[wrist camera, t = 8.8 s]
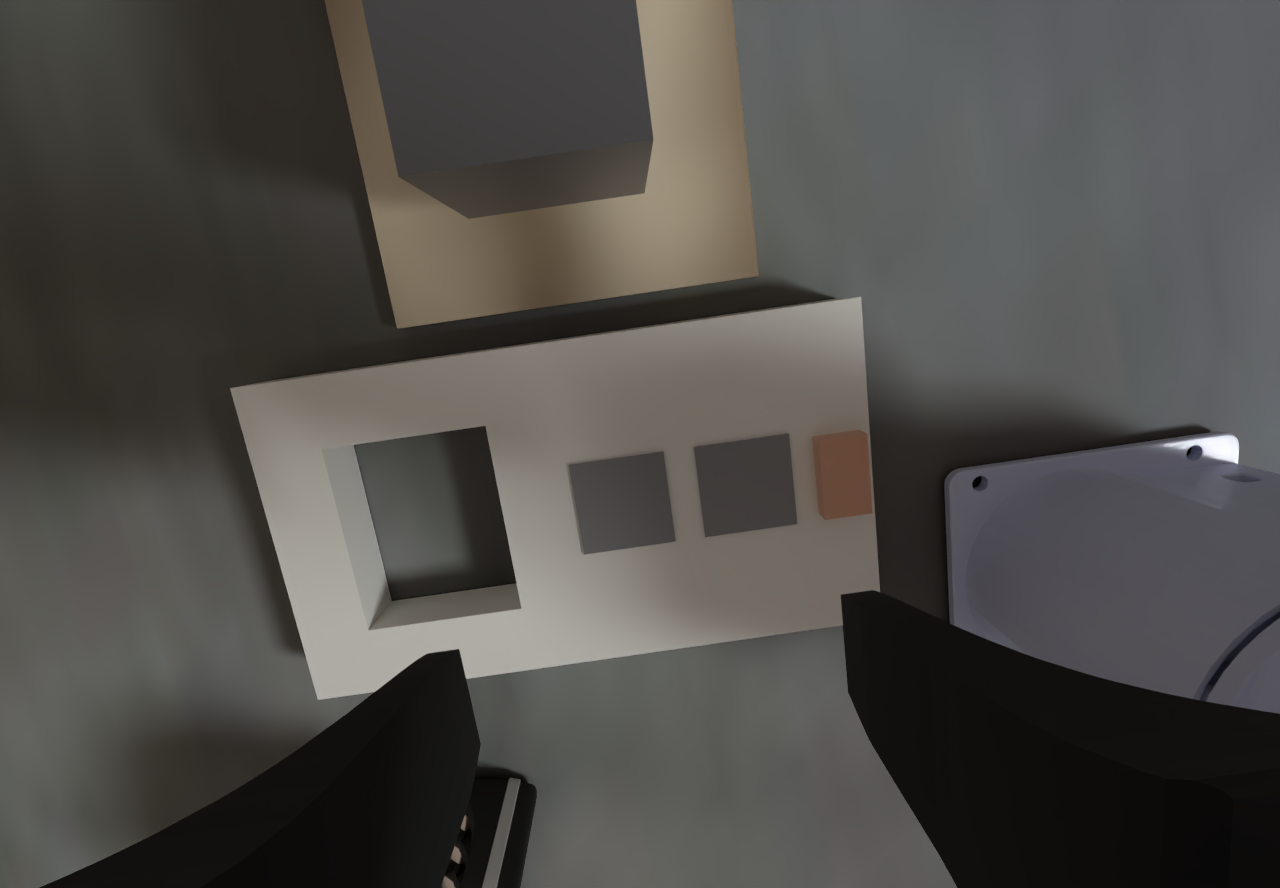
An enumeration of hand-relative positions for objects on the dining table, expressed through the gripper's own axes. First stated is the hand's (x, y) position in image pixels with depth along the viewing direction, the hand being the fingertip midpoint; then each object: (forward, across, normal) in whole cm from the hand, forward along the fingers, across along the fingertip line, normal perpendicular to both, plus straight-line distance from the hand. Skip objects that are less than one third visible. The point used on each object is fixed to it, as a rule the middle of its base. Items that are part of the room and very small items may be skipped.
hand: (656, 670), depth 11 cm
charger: (+9, +1, -12) cm, 15 cm away
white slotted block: (+9, +2, -1) cm, 10 cm away
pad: (+9, +1, -12) cm, 16 cm away
